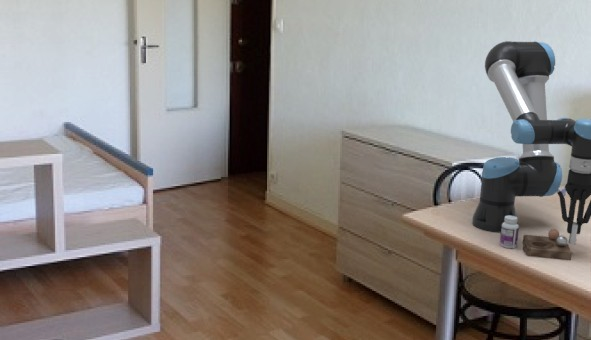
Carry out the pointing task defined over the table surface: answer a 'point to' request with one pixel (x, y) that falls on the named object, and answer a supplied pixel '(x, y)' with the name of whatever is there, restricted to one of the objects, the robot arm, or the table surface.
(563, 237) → the ball
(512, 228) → the pill bottle
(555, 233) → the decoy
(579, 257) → the table surface
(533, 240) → the brown flat square slab
